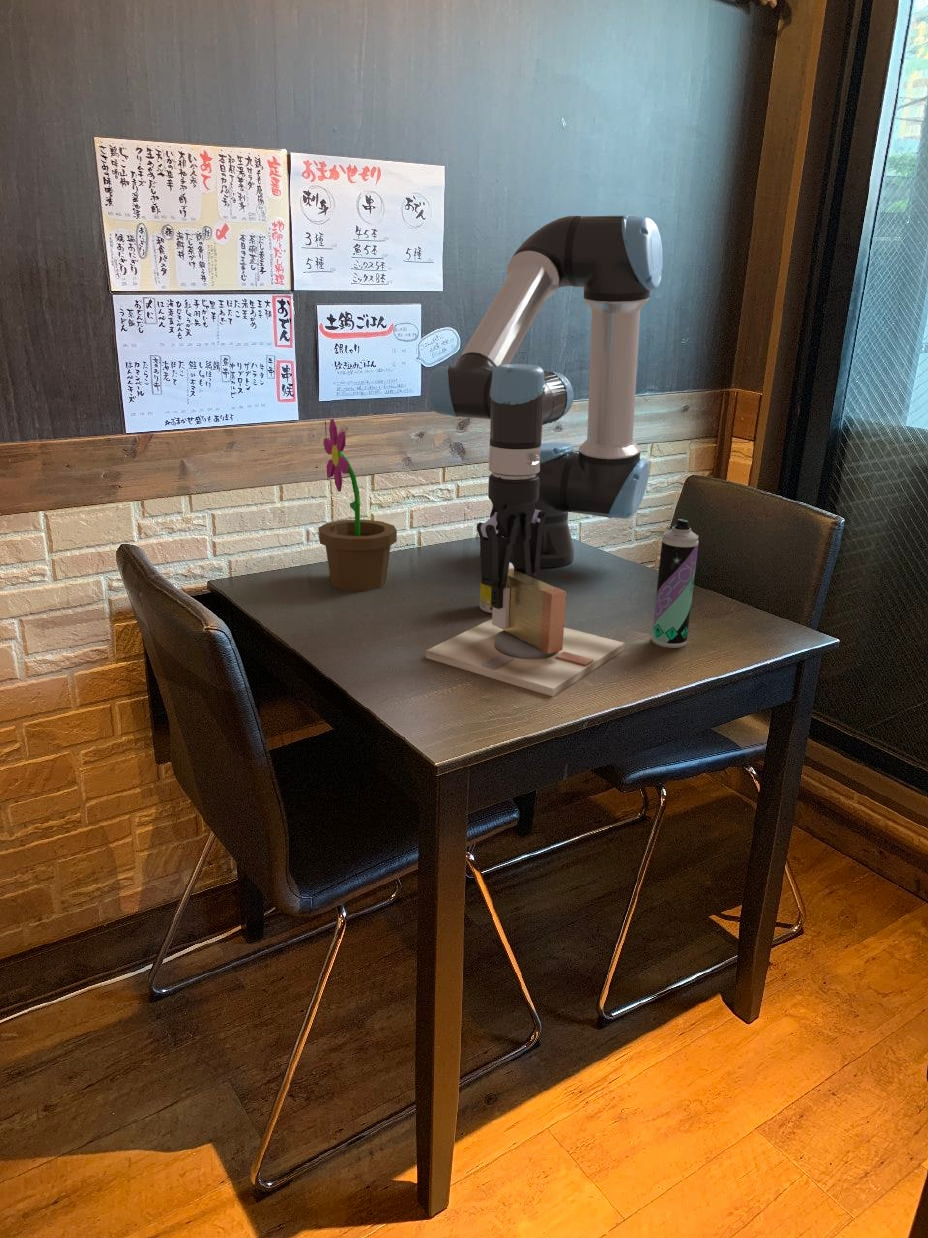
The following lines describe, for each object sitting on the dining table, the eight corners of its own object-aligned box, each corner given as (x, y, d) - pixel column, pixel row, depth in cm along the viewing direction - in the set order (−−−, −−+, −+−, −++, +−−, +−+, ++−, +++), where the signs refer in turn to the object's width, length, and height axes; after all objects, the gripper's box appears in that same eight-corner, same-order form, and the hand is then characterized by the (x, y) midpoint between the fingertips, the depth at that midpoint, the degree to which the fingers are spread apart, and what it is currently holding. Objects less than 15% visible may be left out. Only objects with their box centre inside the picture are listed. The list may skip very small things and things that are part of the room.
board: (505, 618, 157) (506, 605, 156) (624, 650, 145) (625, 635, 144) (425, 657, 140) (426, 642, 139) (552, 696, 128) (553, 680, 127)
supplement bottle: (491, 616, 157) (493, 558, 154) (473, 607, 162) (475, 550, 158) (518, 611, 160) (521, 554, 157) (499, 602, 165) (501, 546, 161)
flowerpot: (308, 575, 176) (304, 414, 165) (379, 567, 182) (378, 412, 172) (334, 598, 164) (331, 426, 154) (409, 589, 170) (410, 423, 160)
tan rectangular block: (495, 627, 146) (497, 570, 142) (509, 624, 147) (511, 568, 144) (547, 655, 136) (551, 594, 132) (562, 651, 137) (566, 591, 134)
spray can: (645, 637, 150) (657, 516, 143) (673, 633, 152) (687, 514, 145) (664, 649, 146) (677, 525, 139) (693, 645, 147) (708, 522, 141)
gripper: (495, 486, 128) (491, 643, 137) (569, 470, 140) (561, 616, 148) (456, 477, 133) (454, 630, 142) (531, 462, 144) (525, 604, 153)
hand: (509, 622), depth 145 cm, fingers closed on tan rectangular block, 3 cm apart
